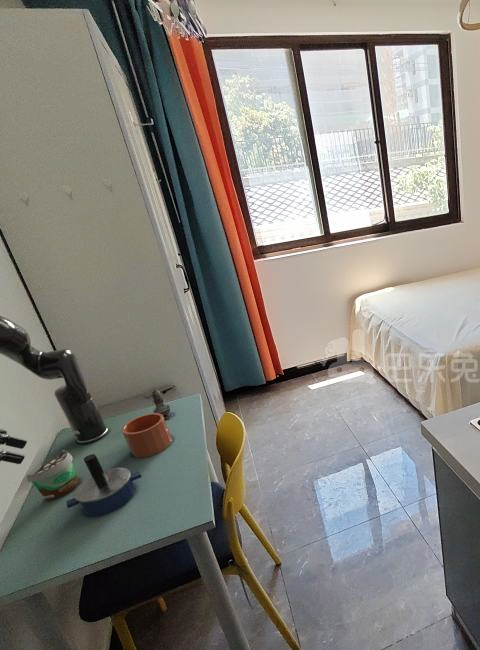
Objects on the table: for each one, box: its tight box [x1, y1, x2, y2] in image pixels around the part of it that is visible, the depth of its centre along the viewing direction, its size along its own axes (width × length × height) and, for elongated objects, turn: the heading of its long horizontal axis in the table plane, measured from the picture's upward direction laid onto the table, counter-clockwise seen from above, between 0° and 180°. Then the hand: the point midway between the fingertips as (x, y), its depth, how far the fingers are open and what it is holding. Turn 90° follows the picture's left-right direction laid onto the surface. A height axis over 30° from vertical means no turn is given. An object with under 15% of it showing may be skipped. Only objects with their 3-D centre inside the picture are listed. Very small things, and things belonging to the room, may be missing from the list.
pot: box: [121, 412, 173, 458], centre depth 146 cm, size 12×12×9 cm
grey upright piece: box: [151, 388, 174, 421], centre depth 162 cm, size 6×6×12 cm
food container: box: [26, 449, 80, 501], centre depth 129 cm, size 12×6×10 cm, turn 168°
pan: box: [66, 470, 142, 517], centre depth 124 cm, size 13×18×5 cm
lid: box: [73, 453, 132, 503], centre depth 121 cm, size 14×14×10 cm
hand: (24, 452), depth 110 cm, fingers open, 8 cm apart
